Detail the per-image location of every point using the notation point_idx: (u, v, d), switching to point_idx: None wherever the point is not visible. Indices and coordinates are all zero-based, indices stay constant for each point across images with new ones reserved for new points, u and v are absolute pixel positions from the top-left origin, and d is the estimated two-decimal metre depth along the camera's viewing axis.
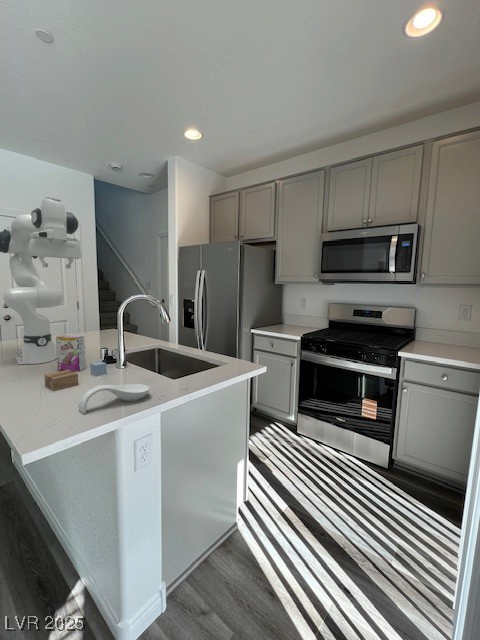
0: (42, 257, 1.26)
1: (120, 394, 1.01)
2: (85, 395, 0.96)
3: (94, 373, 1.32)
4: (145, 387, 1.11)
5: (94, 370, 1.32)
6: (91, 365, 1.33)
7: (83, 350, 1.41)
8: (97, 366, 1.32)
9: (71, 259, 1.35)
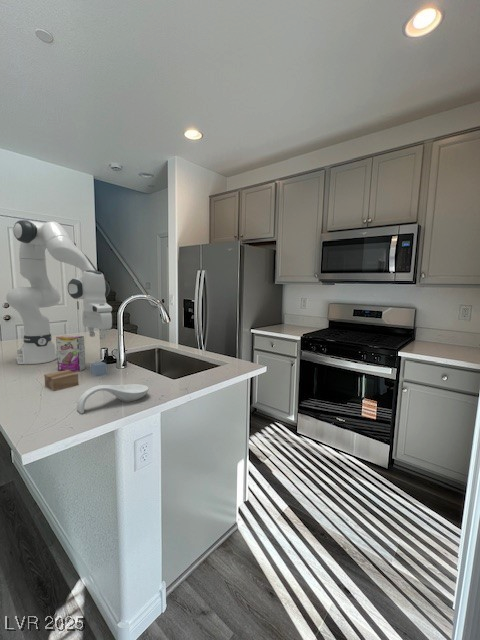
0: None
1: (118, 394, 1.01)
2: (83, 395, 0.96)
3: (94, 373, 1.32)
4: (144, 387, 1.11)
5: (94, 370, 1.32)
6: (91, 365, 1.33)
7: (83, 350, 1.41)
8: (97, 366, 1.32)
9: None
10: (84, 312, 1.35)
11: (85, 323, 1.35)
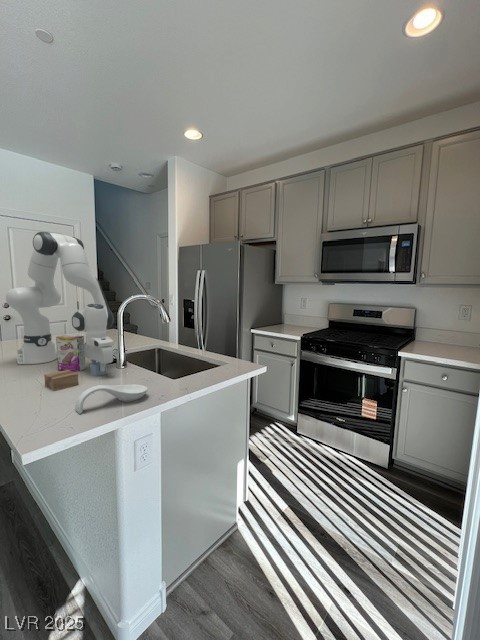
0: None
1: (117, 395, 1.00)
2: (82, 395, 0.96)
3: (94, 373, 1.32)
4: (143, 388, 1.10)
5: (94, 370, 1.32)
6: (91, 365, 1.33)
7: (83, 350, 1.41)
8: (97, 366, 1.32)
9: None
10: (86, 344, 1.37)
11: (87, 355, 1.37)
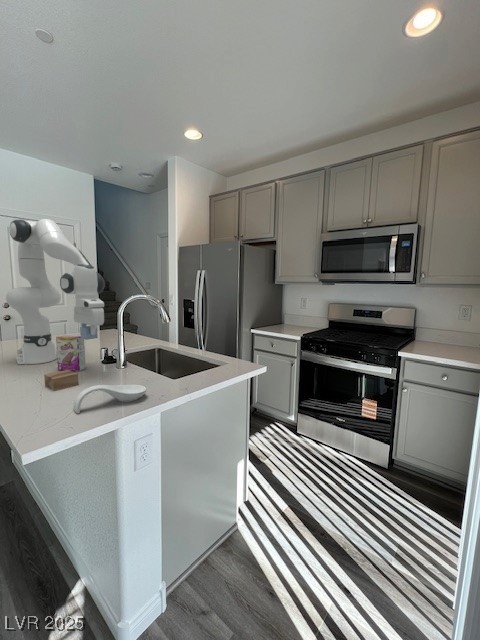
0: None
1: (115, 395, 1.00)
2: (80, 395, 0.96)
3: (84, 336, 1.27)
4: (142, 388, 1.10)
5: (84, 333, 1.26)
6: (81, 328, 1.28)
7: (83, 350, 1.41)
8: (87, 329, 1.26)
9: None
10: (75, 307, 1.31)
11: (77, 319, 1.31)
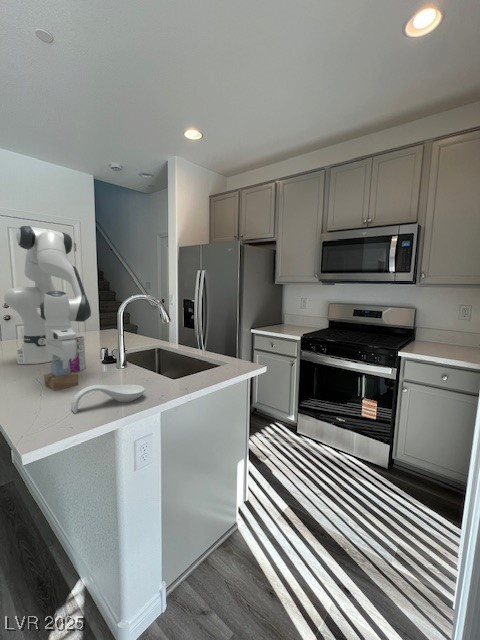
0: None
1: (112, 395, 1.00)
2: (77, 394, 0.96)
3: (55, 373, 1.16)
4: (141, 388, 1.09)
5: (55, 369, 1.16)
6: (52, 364, 1.17)
7: (83, 350, 1.41)
8: (58, 365, 1.16)
9: None
10: (47, 337, 1.20)
11: (48, 350, 1.20)
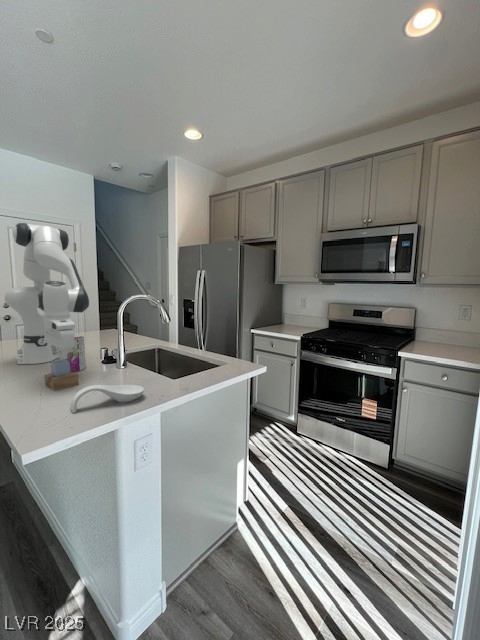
0: None
1: (111, 395, 1.00)
2: (76, 394, 0.96)
3: (55, 373, 1.16)
4: (140, 389, 1.09)
5: (55, 369, 1.16)
6: (52, 364, 1.18)
7: (83, 350, 1.41)
8: (58, 365, 1.16)
9: None
10: (45, 327, 1.20)
11: (47, 340, 1.20)
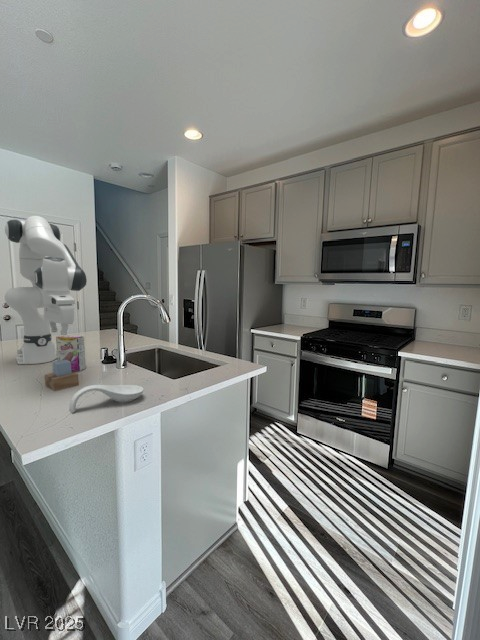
0: None
1: (111, 395, 1.00)
2: (75, 394, 0.96)
3: (56, 373, 1.16)
4: (140, 389, 1.09)
5: (56, 369, 1.16)
6: (53, 364, 1.18)
7: (83, 350, 1.41)
8: (59, 365, 1.16)
9: None
10: (45, 305, 1.19)
11: (46, 317, 1.19)
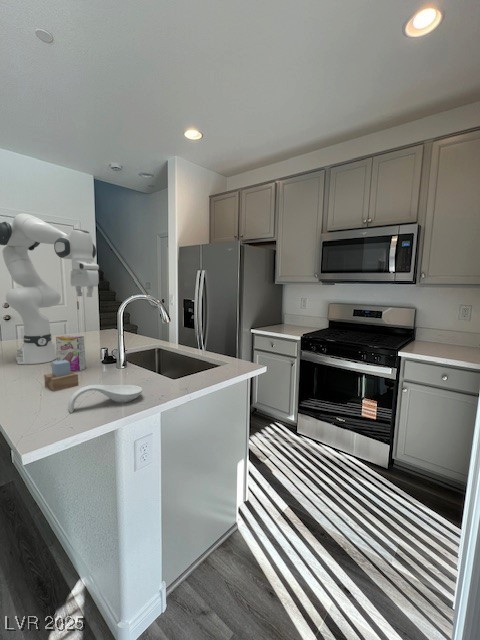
0: None
1: (109, 395, 1.00)
2: (74, 394, 0.97)
3: (55, 373, 1.16)
4: (139, 389, 1.09)
5: (55, 370, 1.16)
6: (52, 364, 1.17)
7: (83, 350, 1.41)
8: (58, 365, 1.15)
9: None
10: (72, 272, 1.37)
11: (73, 283, 1.37)
